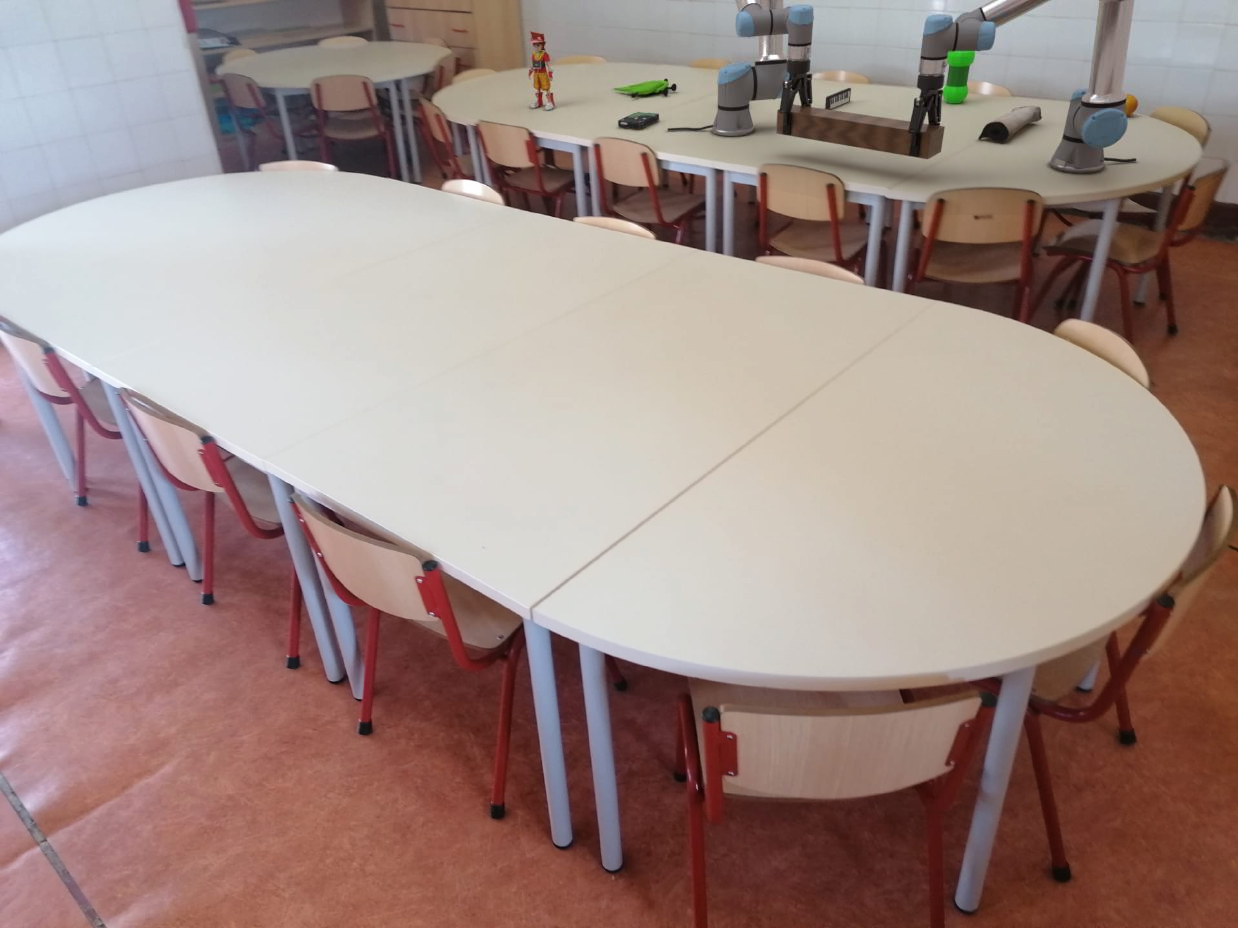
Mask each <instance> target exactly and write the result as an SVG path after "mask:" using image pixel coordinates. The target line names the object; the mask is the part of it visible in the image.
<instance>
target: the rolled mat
mask: <svg viewBox="0 0 1238 928" xmlns="http://www.w3.org/2000/svg"><path fill="white" fill-rule="evenodd" d="M1042 118H1043V116H1042V108H1041V106H1037V105H1036V106H1035V105H1025V106H1019V107H1018V106H1017V107H1015V108H1012V110H1011V112H1008V113H1006V114H1003V115H1002V116H1000V117H998V118H995V119H994V120H992V121H989V122H987V123H986V124H985V125H984V127H983V128H982V130H981V133H980V134H979V136H978V137H977V138H978V141H981V140H982V139H989V140H991V141H992V142H996V143H1002V144H1004V143H1005V142H1007V141H1008V140H1009V139H1010V138H1012V137H1013V135H1014V134H1015V133H1016V132H1018V131H1019V130H1021V128H1023V127H1024V126H1026V125H1027V124H1031V123H1037V122H1039V121H1041V120H1042Z"/></svg>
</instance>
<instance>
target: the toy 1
mask: <svg viewBox="0 0 1238 928" xmlns="http://www.w3.org/2000/svg"><path fill="white" fill-rule="evenodd" d="M529 33H530V35H531V36H528V37H527V38H528V39H529V40H528V41H527V43H529V44H530V43H531V44H532V48H533V50H534V51H533V52H532V55H531V58H530V59H531V63H530V66H528V74H527V75H528V76H527V77H528V79H529V80H531V75H532V74H533V84H532V85H533V86H532V87H533V88H534V89H535V90H536V92H534V95H535V97H536V100H535V101H533V102H531V105H530V108H531V109H535V108H538V107H542V106H544V101H543V100H544V99H543V95H544V92H546V94H545V97H546V99H547V103H546V104H545V106H544V110H546V111H549V110H553V109H554V107H555V106H556V105H555V99H554V92H551V91H550V90H551V86H552V84H551V82H552V81H553V80H554V77H553V73H554V71H555V70H554V69H552V68H551V63H550V61H551V59H550V58H551V57H550V54H549V53H548V52H547V50H546V48H545V46H546V44H547V41H545V35H544V33H543V32H542V33H539V32H535V31H529Z"/></svg>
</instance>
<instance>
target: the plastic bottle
mask: <svg viewBox="0 0 1238 928" xmlns="http://www.w3.org/2000/svg"><path fill="white" fill-rule="evenodd" d="M975 57H976V51H953V52H952V51H949V52H948V56H947V62H946V63H947V65H948V69H947V70H948V71H947V76H946V77H947V78H946V84H944V86H943V89H942V90H943V94H942V98H943V99H944V100H945V101H946V102H947V103H948V104H960V103H961V102H963V101H964V100H966V98H967V96H968V95H969V85H968V79H969V73H970V67H971V65H972V64H973V63H974V61H975Z"/></svg>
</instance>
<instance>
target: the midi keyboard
mask: <svg viewBox="0 0 1238 928" xmlns="http://www.w3.org/2000/svg"><path fill="white" fill-rule="evenodd" d="M851 95H852V88H851V87H847V88H845V89H842V90H839V91H837V92H834V93H833V94H832V93H831V94H830V95H827V96H825V105H824V106H825V107H824V109H828V110H833V109H835V108H837V107H839V106H841V105H844V104H846V103H848V102H851Z"/></svg>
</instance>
